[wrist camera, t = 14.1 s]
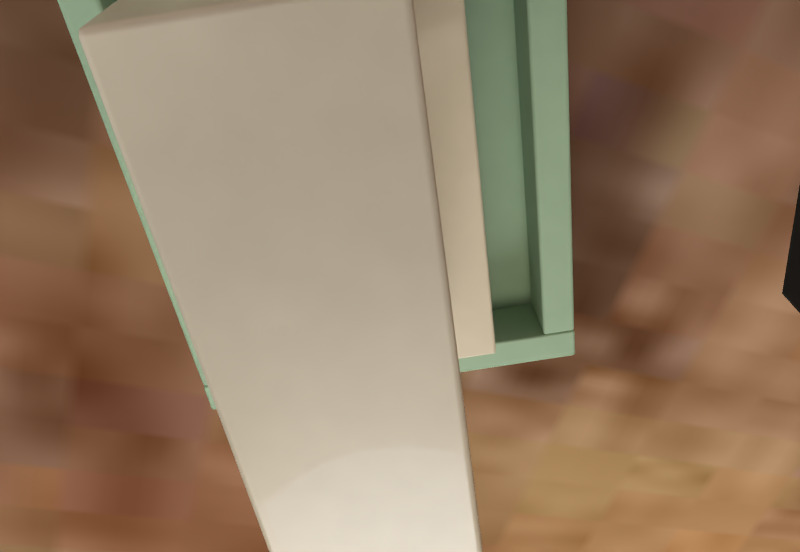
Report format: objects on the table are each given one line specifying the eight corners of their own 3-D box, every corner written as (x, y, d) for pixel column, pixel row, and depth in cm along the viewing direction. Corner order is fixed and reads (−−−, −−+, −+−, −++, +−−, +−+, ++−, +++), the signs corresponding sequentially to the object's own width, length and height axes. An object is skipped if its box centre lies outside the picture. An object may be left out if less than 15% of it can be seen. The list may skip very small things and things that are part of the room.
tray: (-74, -494, 12) (-158, -557, 10) (518, -605, 11) (552, -693, 9) (224, 356, 21) (211, 410, 19) (553, 305, 21) (575, 355, 19)
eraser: (148, -132, 14) (-128, -73, 6) (433, -180, 14) (549, -186, 6) (279, 329, 20) (232, 673, 12) (481, 299, 20) (572, 626, 12)
